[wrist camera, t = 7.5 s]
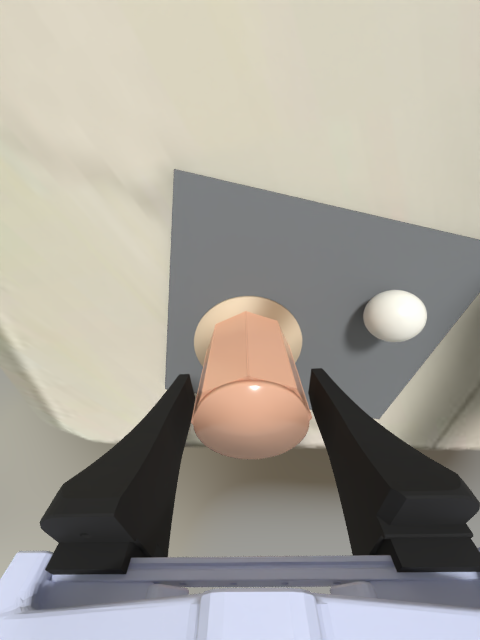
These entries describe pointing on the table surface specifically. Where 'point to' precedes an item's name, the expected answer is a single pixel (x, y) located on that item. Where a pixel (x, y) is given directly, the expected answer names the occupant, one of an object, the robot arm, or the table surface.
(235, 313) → the coaster
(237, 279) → the placemat
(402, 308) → the ball
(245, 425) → the cup
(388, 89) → the table surface
